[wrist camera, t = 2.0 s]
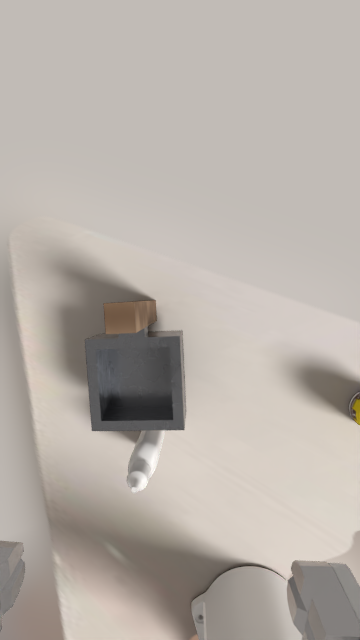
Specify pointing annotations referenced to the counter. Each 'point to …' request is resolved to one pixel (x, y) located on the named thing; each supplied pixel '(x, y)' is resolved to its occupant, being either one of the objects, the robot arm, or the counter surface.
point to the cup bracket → (135, 372)
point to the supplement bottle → (355, 408)
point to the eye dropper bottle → (144, 459)
